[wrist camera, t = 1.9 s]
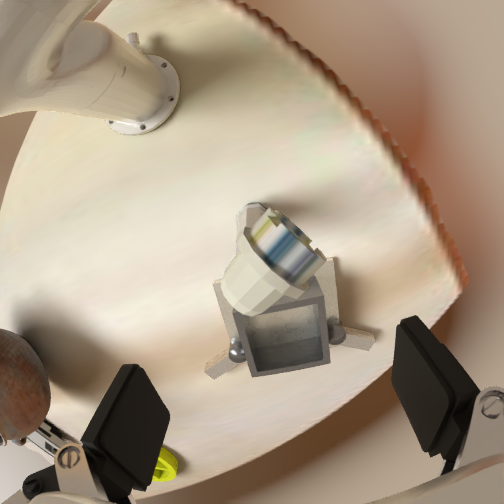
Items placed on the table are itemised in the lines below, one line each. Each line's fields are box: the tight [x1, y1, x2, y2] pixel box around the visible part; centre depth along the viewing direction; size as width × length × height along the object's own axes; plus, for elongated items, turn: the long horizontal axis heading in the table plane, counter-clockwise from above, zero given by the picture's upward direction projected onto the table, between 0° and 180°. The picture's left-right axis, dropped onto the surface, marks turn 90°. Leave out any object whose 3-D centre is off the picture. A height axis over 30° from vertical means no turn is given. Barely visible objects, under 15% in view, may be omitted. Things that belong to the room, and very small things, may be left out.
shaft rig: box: [204, 258, 375, 379], centre depth 41 cm, size 18×30×7 cm, turn 102°
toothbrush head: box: [220, 203, 327, 316], centre depth 27 cm, size 5×7×25 cm
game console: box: [26, 419, 66, 458], centre depth 60 cm, size 21×32×8 cm, turn 55°
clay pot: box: [0, 329, 51, 446], centre depth 36 cm, size 26×25×30 cm
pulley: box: [152, 447, 178, 481], centre depth 60 cm, size 28×28×5 cm
